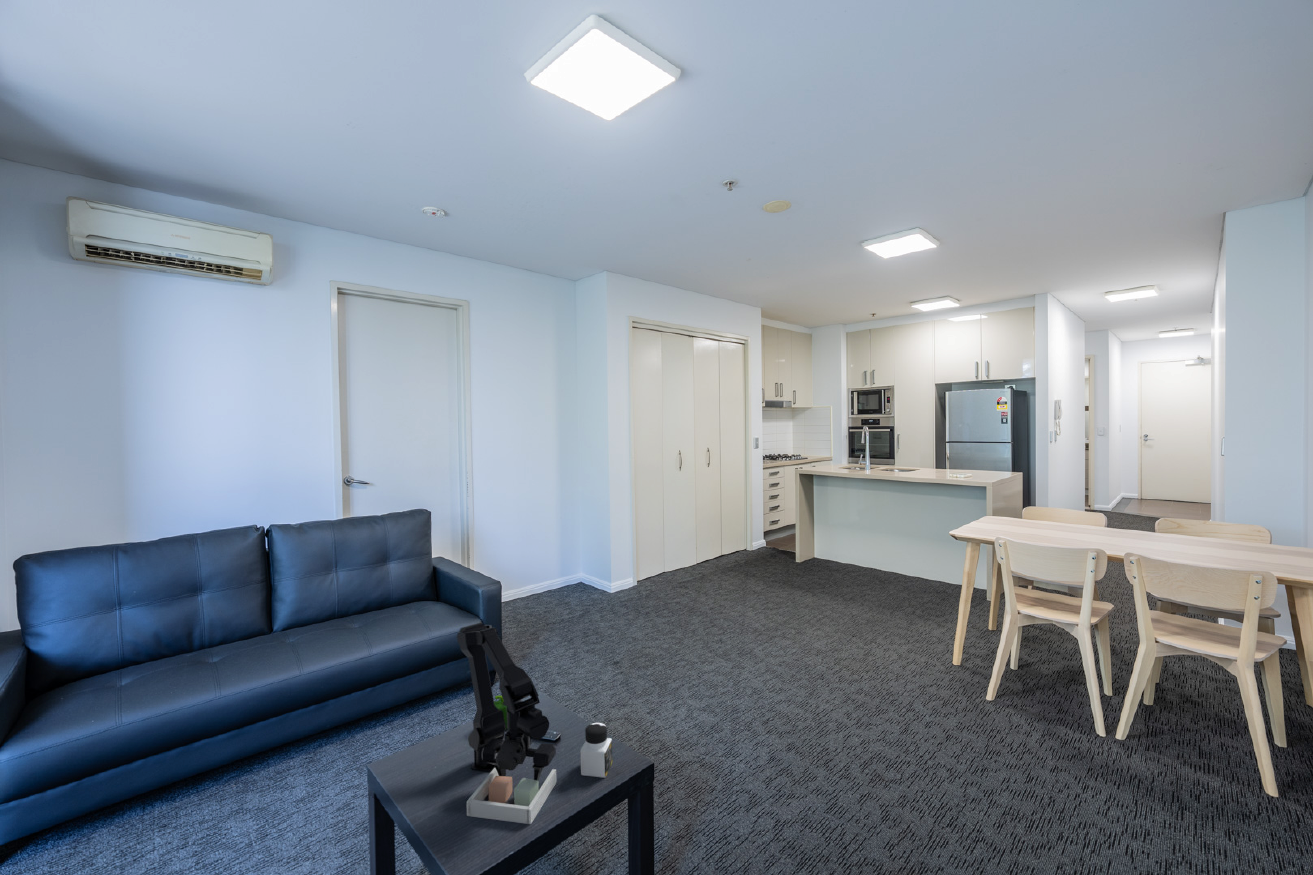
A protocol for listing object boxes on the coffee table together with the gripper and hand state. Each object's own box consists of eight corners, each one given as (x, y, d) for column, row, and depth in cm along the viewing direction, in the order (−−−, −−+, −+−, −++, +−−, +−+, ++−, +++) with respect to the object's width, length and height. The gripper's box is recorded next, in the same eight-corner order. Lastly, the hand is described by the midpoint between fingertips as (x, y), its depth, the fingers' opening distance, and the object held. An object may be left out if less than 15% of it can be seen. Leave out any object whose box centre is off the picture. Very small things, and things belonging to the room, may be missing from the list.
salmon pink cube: (488, 802, 138) (488, 786, 138) (496, 790, 143) (495, 775, 143) (505, 803, 138) (505, 787, 138) (512, 791, 142) (512, 776, 142)
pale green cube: (514, 804, 137) (513, 788, 137) (523, 792, 142) (523, 777, 142) (530, 807, 136) (529, 791, 136) (538, 795, 140) (538, 780, 140)
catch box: (466, 815, 134) (466, 801, 134) (498, 775, 149) (498, 763, 149) (530, 824, 130) (530, 809, 130) (556, 782, 146) (556, 769, 146)
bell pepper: (521, 719, 179) (521, 689, 179) (511, 733, 171) (510, 701, 171) (497, 718, 180) (497, 688, 180) (486, 731, 172) (485, 700, 172)
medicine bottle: (605, 778, 147) (604, 734, 147) (580, 775, 149) (579, 732, 149) (612, 762, 154) (611, 720, 154) (588, 760, 156) (588, 718, 156)
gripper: (469, 738, 137) (471, 800, 137) (538, 745, 133) (540, 808, 133) (491, 716, 148) (493, 773, 148) (555, 721, 144) (557, 780, 144)
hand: (519, 783), depth 143 cm, fingers open, 9 cm apart
